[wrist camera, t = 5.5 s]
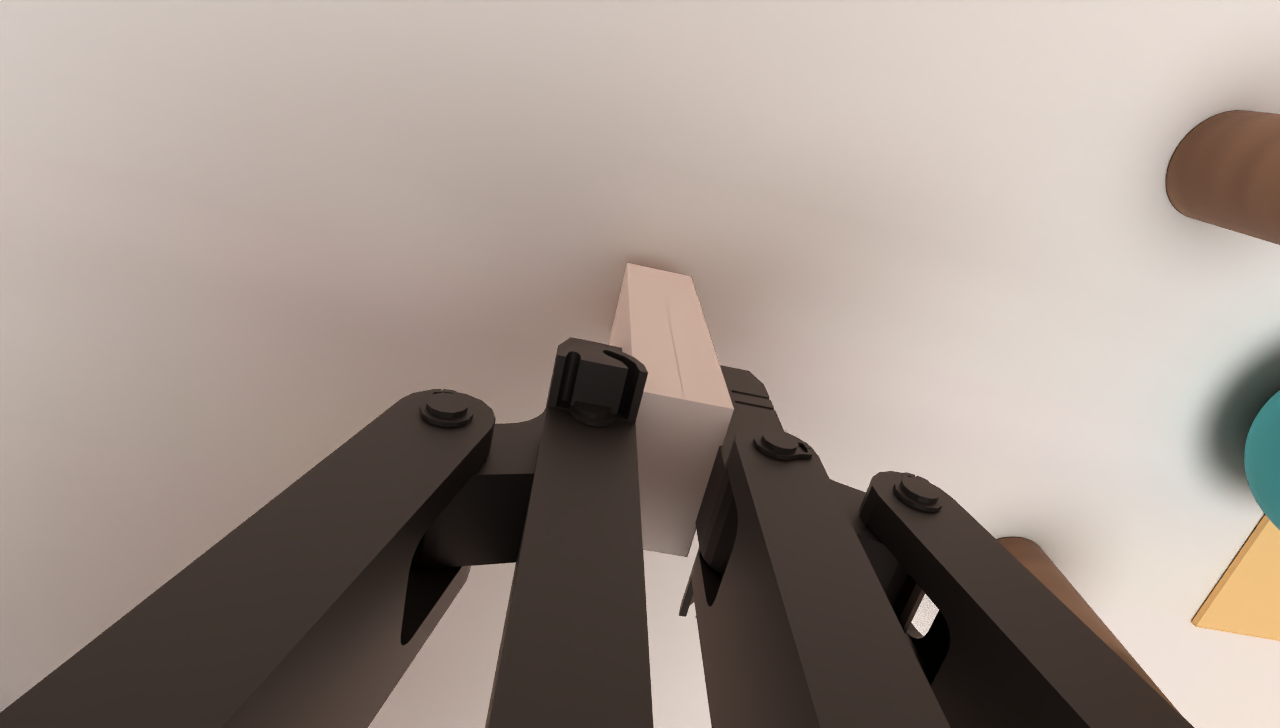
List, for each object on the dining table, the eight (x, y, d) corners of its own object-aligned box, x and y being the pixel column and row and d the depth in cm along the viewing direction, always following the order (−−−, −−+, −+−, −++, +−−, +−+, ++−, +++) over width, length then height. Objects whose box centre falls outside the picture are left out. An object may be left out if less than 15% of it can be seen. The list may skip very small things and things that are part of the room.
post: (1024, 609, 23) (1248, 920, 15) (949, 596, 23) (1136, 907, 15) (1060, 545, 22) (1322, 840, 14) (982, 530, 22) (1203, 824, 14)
